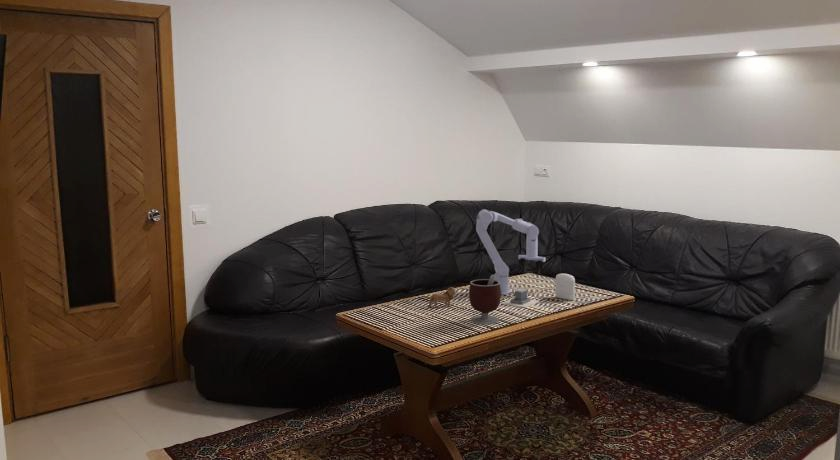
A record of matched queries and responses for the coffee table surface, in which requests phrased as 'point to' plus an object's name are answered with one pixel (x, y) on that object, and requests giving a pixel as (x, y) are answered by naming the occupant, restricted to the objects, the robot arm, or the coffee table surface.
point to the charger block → (521, 294)
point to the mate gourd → (485, 299)
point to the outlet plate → (520, 302)
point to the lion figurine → (443, 297)
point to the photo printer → (565, 286)
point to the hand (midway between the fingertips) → (531, 274)
